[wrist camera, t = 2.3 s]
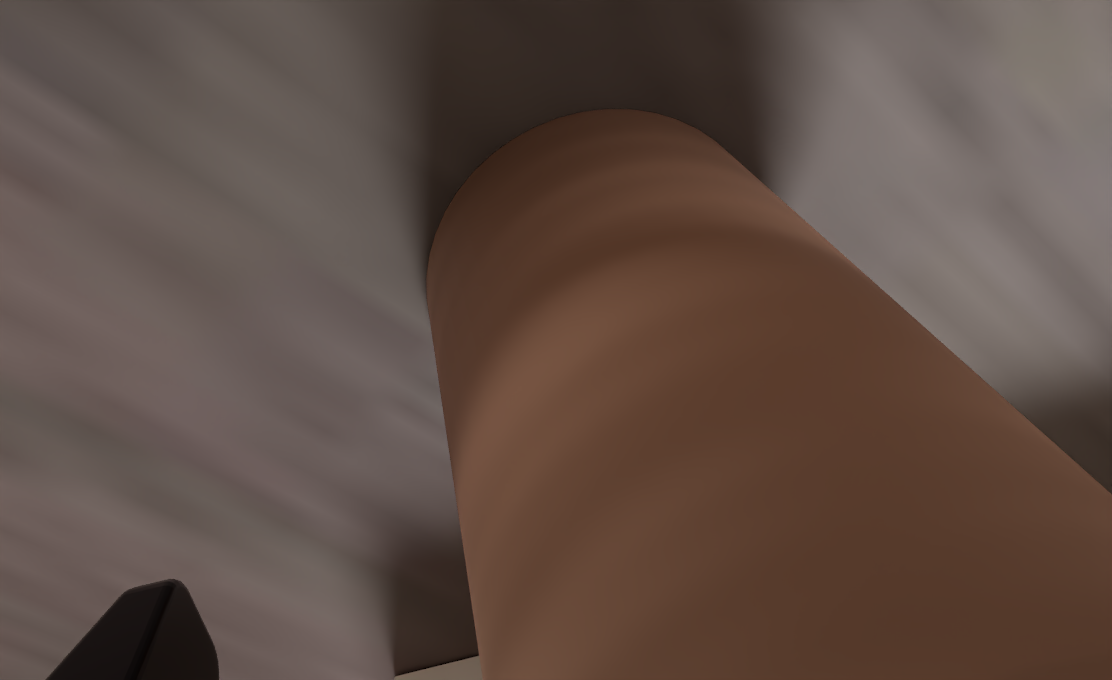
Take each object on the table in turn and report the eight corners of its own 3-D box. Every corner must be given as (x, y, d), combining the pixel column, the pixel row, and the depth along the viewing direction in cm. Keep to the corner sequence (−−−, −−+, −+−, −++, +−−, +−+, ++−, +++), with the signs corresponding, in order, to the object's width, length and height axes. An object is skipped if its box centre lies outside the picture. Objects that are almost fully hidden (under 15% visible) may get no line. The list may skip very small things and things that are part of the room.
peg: (462, 457, 12) (593, 1235, 6) (389, 148, 10) (457, 818, 3) (770, 389, 13) (1242, 1034, 6) (766, 76, 11) (1511, 542, 4)
